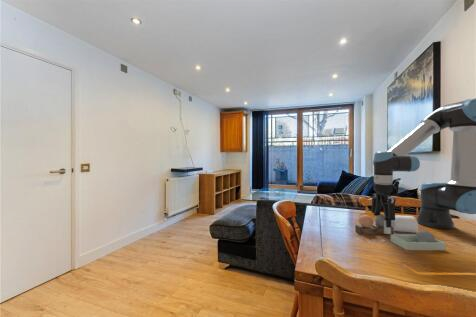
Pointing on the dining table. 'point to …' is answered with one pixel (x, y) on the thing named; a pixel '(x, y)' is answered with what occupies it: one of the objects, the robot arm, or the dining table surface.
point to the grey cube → (380, 220)
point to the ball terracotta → (366, 221)
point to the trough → (416, 243)
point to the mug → (404, 224)
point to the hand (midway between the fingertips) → (382, 231)
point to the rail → (371, 230)
